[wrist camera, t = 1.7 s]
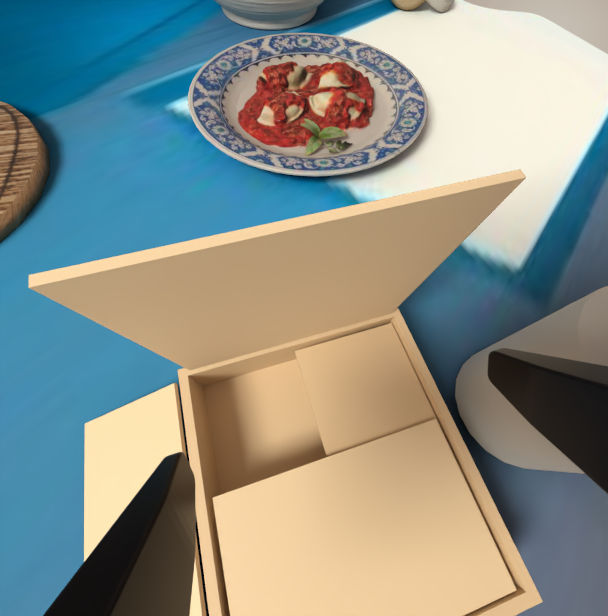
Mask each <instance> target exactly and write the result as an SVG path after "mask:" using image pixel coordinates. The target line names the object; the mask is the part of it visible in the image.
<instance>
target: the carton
mask: <svg viewBox="0 0 608 616" xmlns="http://www.w3.org/2000/svg"><path fill="white" fill-rule="evenodd" d="M178 376H179V384H180V392H181V400H182V407H183V415H184V423H185V431H186V439H187V446H188V454H189V462H190V467H191V469H192V471H193V474H194V477H195V508H196V517H197V525H198V532H199V540H200V548H201V556H202V564H203V571H204V579H205V587H206V595H207V603H208V610H209V616H515V615H517V614H519V613H521V612H523V611H525V610H527V609H529V608H531V607H533V606H535V605H537V604H539V603H541V602H543V601H542V599H541V597H540V595H539V593H538V591H537V589H536V587H535V585H534V583H533V581H532V579H531V577H530V575H529V573H528V571H527V569H526V567H525V565H524V562H523V560H522V558H521V556H520V554H519V552H518V550H517V548H516V546H515V544H514V542H513V540H512V538H511V536H510V534H509V532H508V530H507V528H506V526H505V524H504V522H503V520H502V518H501V516H500V514H499V512H498V510H497V508H496V506H495V504H494V502H493V500H492V498H491V495H490V493H489V491H488V489H487V487H486V485H485V483H484V481H483V479H482V477H481V475H480V473H479V471H478V469H477V467H476V465H475V463H474V461H473V459H472V457H471V455H470V453H469V451H468V449H467V447H466V445H465V443H464V441H463V439H462V437H461V435H460V433H459V431H458V428H457V426H456V424H455V422H454V420H453V418H452V416H451V414H450V412H449V410H448V408H447V406H446V404H445V402H444V400H443V398H442V396H441V394H440V392H439V390H438V388H437V386H436V384H435V382H434V380H433V378H432V376H431V374H430V372H429V370H428V368H427V366H426V364H425V361H424V359H423V357H422V355H421V353H420V351H419V349H418V347H417V345H416V343H415V341H414V339H413V337H412V335H411V333H410V331H409V329H408V327H407V325H406V323H405V321H404V319H403V317H402V315H401V313H400V311H399V309H398V308H396V309H395V310H394V311H393V312H392V313H391V314H387V315H384V316H380V317H377V318H373V319H370V320H366V321H363V322H359V323H356V324H352V325H349V326H345V327H341V328H338V329H334V330H331V331H327V332H324V333H320V334H317V335H313V336H310V337H306V338H303V339H299V340H296V341H292V342H288V343H285V344H281V345H278V346H274V347H271V348H267V349H264V350H260V351H257V352H253V353H250V354H246V355H243V356H239V357H235V358H232V359H228V360H225V361H221V362H218V363H214V364H211V365H207V366H204V367H200V368H197V369H193V370H188V369H186V368H182V369H179V370H178ZM177 452H183V453H184V454H185V456H186V449H185V441H184V433H183V425H182V417H181V409H180V401H179V393H178V385H177V383H173V384H171V385H169V386H167V387H165V388H162V389H160V390H158V391H156V392H154V393H151V394H149V395H147V396H145V397H143V398H140V399H138V400H136V401H134V402H132V403H129V404H127V405H125V406H123V407H121V408H119V409H116V410H114V411H112V412H110V413H108V414H105V415H103V416H101V417H99V418H97V419H94V420H92V421H90V422H88V423H86V424H85V495H84V562H85V560H86V559H87V558H88V556H89V555H90V554H91V552H92V551H93V550H94V549H95V547H96V546H97V545H98V543H99V542H100V541H101V539H102V538H103V537H104V535H105V534H106V533H107V532H108V530H109V529H110V528H111V526H112V525H113V524H114V522H115V521H116V520H117V519H118V517H119V516H120V515H121V513H122V512H123V511H124V509H125V508H126V507H127V506H128V504H129V503H130V502H131V500H132V499H133V498H134V496H135V495H136V494H137V493H138V491H139V490H140V489H141V487H142V486H143V485H144V483H145V482H146V481H147V480H148V478H149V477H150V476H151V474H152V473H153V472H154V470H155V469H156V468H157V466H158V465H159V464H160V463H161V461H162V460H163V459H164V458H165V457H166V456H168V455H171V454H174V453H177ZM186 458H187V457H186ZM190 616H206V609H205V601H204V593H203V585H202V577H201V569H200V561H199V553H198V545H197V537H196V550H195V564H194V574H193V584H192V595H191V605H190Z"/></svg>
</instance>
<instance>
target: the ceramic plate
mask: <svg viewBox="0 0 608 616" xmlns="http://www.w3.org/2000/svg"><path fill="white" fill-rule="evenodd" d="M188 106H189V110H190V114H191V116H192V119H193V121H194V123H195V125H196V126H197V128H198V129H199V131H200V132H201V133H202V134H203V135H204V137H205V138H206V139H207V140H208V141H209V142H211V143H212V144H213V145H214V146H215V147H217V148H218V149H219V150H221V151H222V152H224V153H226V154H227V155H229V156H231V157H233V158H235V159H237V160H239V161H241V162H243V163H246V164H248V165H251V166H254V167H257V168H260V169H264V170H268V171H272V172H276V173H282V174H289V175H298V176H332V175H341V174H347V173H352V172H357V171H361V170H365V169H368V168H371V167H374V166H377V165H379V164H382V163H384V162H386V161H388V160H390V159H392V158H394V157H396V156H397V155H398V154H400V153H401V152H402V151H404V150H405V149H407V148H408V147H409V146H410V145H411V144H412V143H413V142H414V141H415V139H416V138H417V137H418V135H419V134H420V132H421V130H422V128H423V126H424V124H425V121H426V118H427V109H428V105H427V99H426V95H425V92H424V89H423V88H422V86H421V84H420V83H419V81H418V80H417V78H416V77H415V76H414V74H413V73H412V72H411V71H410V70H409V69H408V68H406V67H405V66H404V65H403V64H402V63H400V62H399V61H398V60H396V59H395V58H394V57H392V56H390V55H388V54H387V53H385V52H383V51H381V50H379V49H377V48H375V47H372V46H370V45H367V44H364V43H361V42H358V41H355V40H352V39H348V38H343V37H338V36H332V35H326V34H316V33H285V34H276V35H268V36H264V37H260V38H255V39H251V40H247V41H244V42H241V43H239V44H237V45H234V46H232V47H229V48H228V49H226V50H224V51H222V52H220V53H218V54H217V55H216V56H214V57H213V58H212V59H210V60H209V61H208V62H207V63H205V64H204V66H203V67H202V68H201V69H200V70H199V71H198V73H197V74H196V76H195V77H194V79H193V81H192V83H191V86H190V89H189V94H188Z"/></svg>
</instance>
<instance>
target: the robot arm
mask: <svg viewBox="0 0 608 616" xmlns="http://www.w3.org/2000/svg"><path fill="white" fill-rule="evenodd" d="M487 375H488V378H489V380H490V382H491V383H492V384H493V385H494V386H495V387H496V388H497V390H498V391H499V392H500V393H501V394H502V395H503V396H504V397H505V398H506V399H507V400H508V401H509V402H510V403H511V404H512V405H513V406H514V408H515V409H516V410H517V411H518V412H519V413H520V414H521V415H522V416H523V417H524V418H525V419H526V420H527V421H528V422H529V423H530V424H531V425H532V426H533V427H534V428H535V429H536V430H537V431H538V432H539V433H541V434H542V435H543V436H544V437H545V438H546V439H547V440H548V441H549V442H551V443H552V444H553V445H554V446H555V447H556V448H557V449H558V450H559V451H561V452H562V453H563V454H564V455H565V456H566V457H567V458H568V459H570V460H571V461H572V462H573V463H574V464H575V465H576V466H577V467H578V468H580V469H581V470H582V471H583V472H584V473H585V474H586V475H587V476H588V477H590V478H591V479H592V480H593V481H594V482H595V483H596V484H597V485H598V486H600V487H601V488H602V489H603V490H604V491H605V492H606V493H607V494H608V366H604V365H598V364H593V363H587V362H581V361H576V360H570V359H565V358H559V357H553V356H548V355H542V354H537V353H531V352H525V351H520V350H514V349H508V348H500V349H497V350H494V351H491V352H490V353H489V355H488V371H487ZM195 550H196V508H195V477H194V474H193V471H192V469H191V467H190V465H189V462H188V460H187V458H186V456H185V454H184V453H183V452H177V453H174V454H171V455H168V456H166V457H165V458H164V459H163V460H162V461H161V463H160V464H159V465H158V466H157V468H156V469H155V470H154V472H153V473H152V474H151V476H150V477H149V478H148V480H147V481H146V482H145V483H144V485H143V486H142V487H141V489H140V490H139V491H138V493H137V494H136V495H135V496H134V498H133V499H132V500H131V502H130V503H129V504H128V506H127V507H126V508H125V509H124V511H123V512H122V513H121V515H120V516H119V517H118V519H117V520H116V521H115V522H114V524H113V525H112V526H111V528H110V529H109V530H108V532H107V533H106V534H105V535H104V537H103V538H102V539H101V541H100V542H99V543H98V545H97V546H96V547H95V549H94V550H93V551H92V552H91V554H90V555H89V556H88V558H87V559H86V560H85V562H84V563H83V564H82V565H81V567H80V568H79V569H78V571H77V572H76V573H75V575H74V576H73V577H72V578H71V580H70V581H69V582H68V584H67V585H66V586H65V588H64V589H63V590H62V591H61V593H60V594H59V595H58V597H57V598H56V599H55V601H54V602H53V603H52V605H51V606H50V607H49V608H48V610H47V611H46V612H45V614H44V615H43V616H190V605H191V595H192V584H193V574H194V564H195Z"/></svg>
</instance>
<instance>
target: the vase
mask: <svg viewBox="0 0 608 616" xmlns="http://www.w3.org/2000/svg"><path fill="white" fill-rule="evenodd" d="M215 1H216V2H217V3H218V4H219V5H221V6H222V10H223V12H224V14H225V15H226V16H227V17H228V18H229V19H231V20H232V21H233V22H235V23H237V24H239V25H242V26H245V27H249V28H254V29H260V30H282V29H289V28H293V27H297V26H300V25H302V24H304V23H306V22H308V21H309V20H310V19H312V18H313V16H314V15H315V13H316V10H317V6H319V5H320V4H321V3H322V2H323V1H324V0H215Z"/></svg>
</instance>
